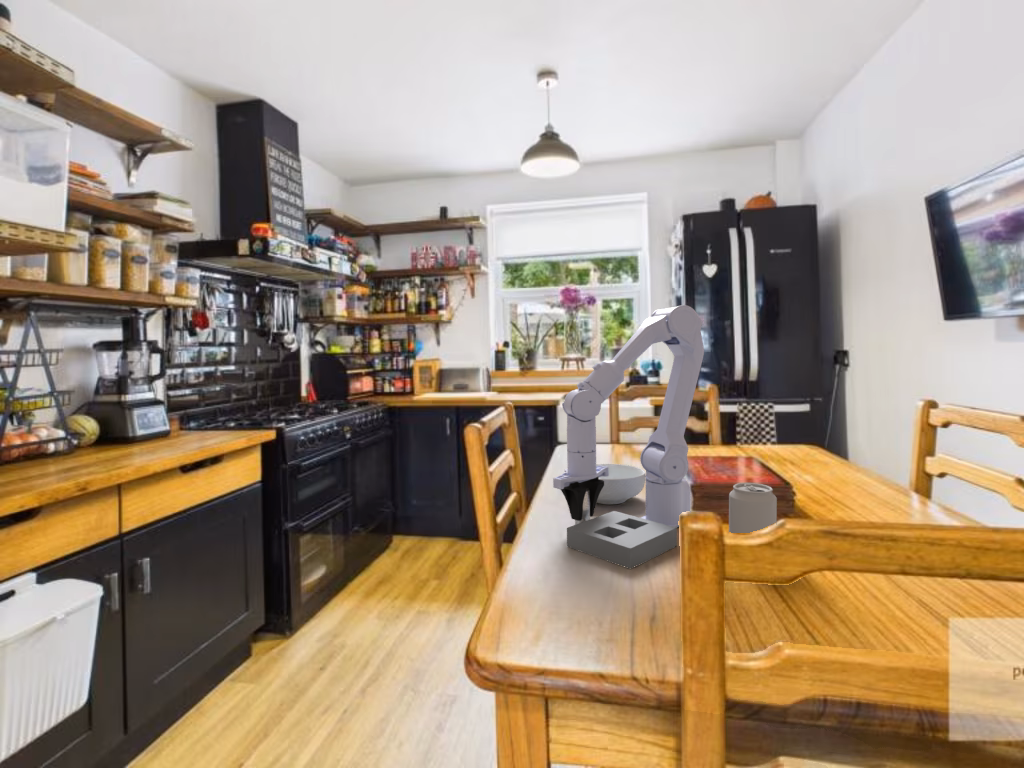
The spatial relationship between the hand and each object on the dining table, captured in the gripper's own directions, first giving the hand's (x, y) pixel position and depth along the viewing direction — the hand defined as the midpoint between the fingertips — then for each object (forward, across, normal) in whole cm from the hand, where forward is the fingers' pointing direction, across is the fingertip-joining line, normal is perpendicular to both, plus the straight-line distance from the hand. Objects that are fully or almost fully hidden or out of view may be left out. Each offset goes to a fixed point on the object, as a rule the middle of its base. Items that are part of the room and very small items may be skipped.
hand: (582, 517), depth 107 cm
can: (+3, -11, +29) cm, 31 cm away
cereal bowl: (+3, -20, -9) cm, 22 cm away
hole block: (+2, +2, +11) cm, 11 cm away
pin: (+2, 0, 0) cm, 2 cm away
